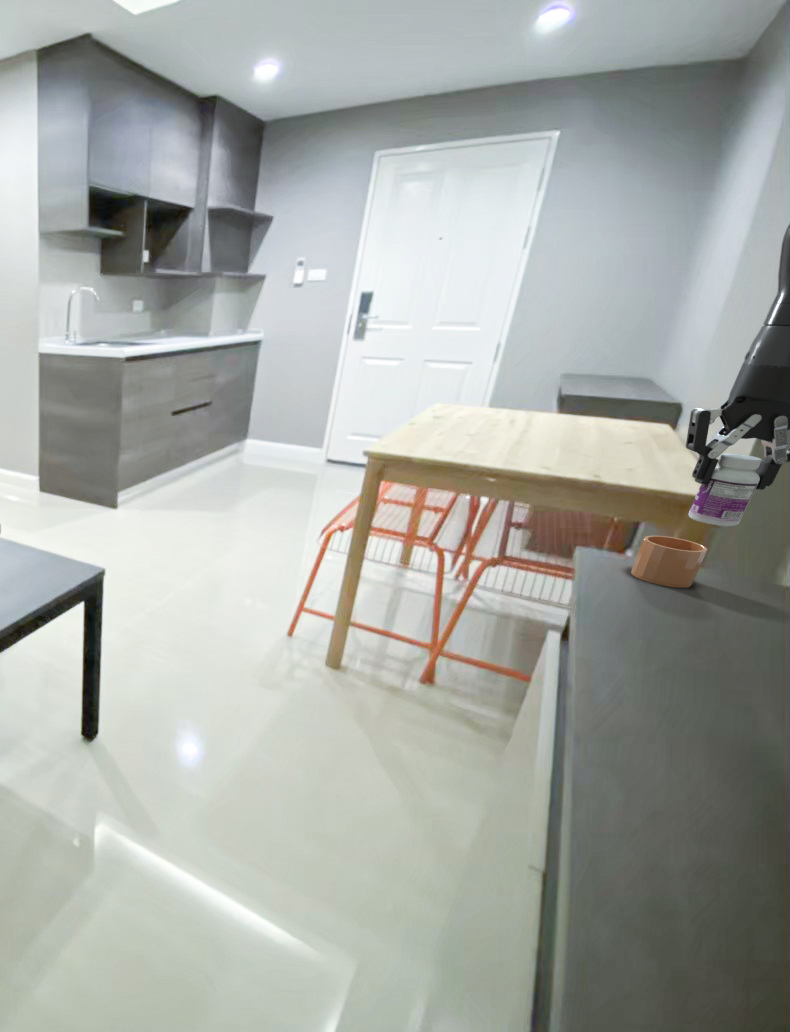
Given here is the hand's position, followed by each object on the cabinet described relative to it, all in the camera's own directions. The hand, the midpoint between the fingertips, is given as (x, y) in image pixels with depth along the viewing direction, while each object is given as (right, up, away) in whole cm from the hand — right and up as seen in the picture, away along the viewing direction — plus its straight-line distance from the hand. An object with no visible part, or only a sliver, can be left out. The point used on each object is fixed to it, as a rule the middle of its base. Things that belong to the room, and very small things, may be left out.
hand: (728, 485), depth 87 cm
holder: (+13, -15, +22) cm, 30 cm away
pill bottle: (0, -5, +2) cm, 6 cm away
